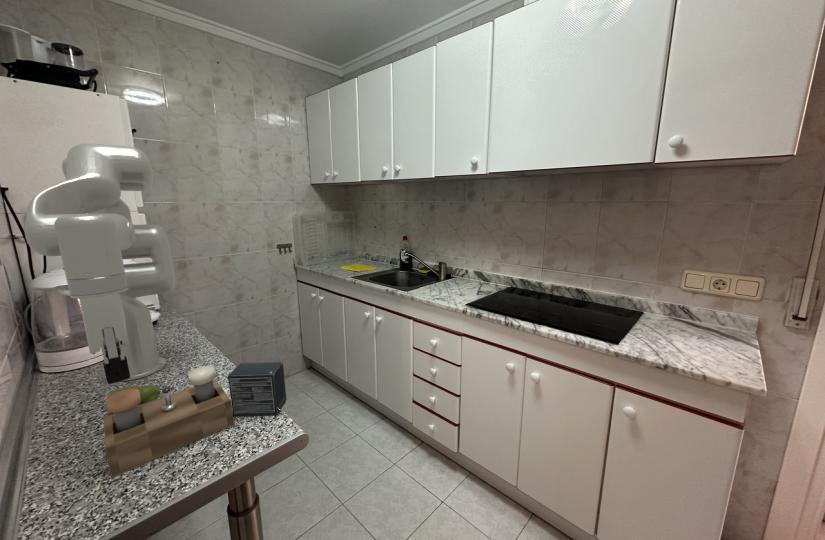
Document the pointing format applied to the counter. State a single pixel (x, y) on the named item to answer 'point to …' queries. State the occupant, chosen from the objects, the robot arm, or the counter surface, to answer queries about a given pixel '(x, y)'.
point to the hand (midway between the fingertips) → (119, 379)
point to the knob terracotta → (125, 408)
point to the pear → (142, 392)
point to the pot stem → (168, 400)
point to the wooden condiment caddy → (166, 428)
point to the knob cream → (203, 382)
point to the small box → (257, 389)
